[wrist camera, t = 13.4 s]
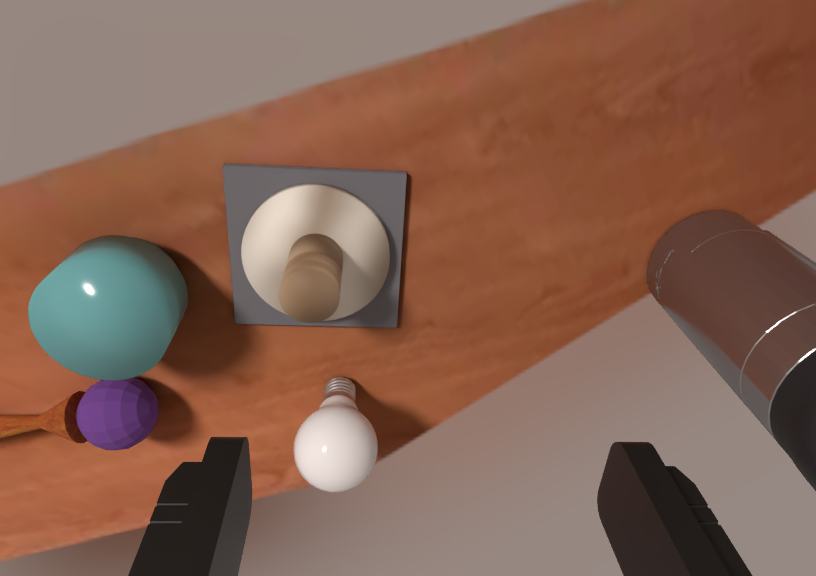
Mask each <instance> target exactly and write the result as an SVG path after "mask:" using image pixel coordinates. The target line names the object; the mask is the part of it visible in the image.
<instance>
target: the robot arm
mask: <svg viewBox="0 0 816 576" xmlns="http://www.w3.org/2000/svg"><path fill="white" fill-rule="evenodd" d="M647 283H648V286H649V289H650V292H651V293H652V295H653V296H654V298H655V299H656V300H657V302H658V303H659V304H660V305H661V306H662V308H663V309H664V310H665V311H666V312H667V313H668V314H669V316H670V317H671V318H672V319H673V320H674V322H675V323H676V324H677V325H678V327H679V328H680V329H681V330H682V331H683V332H684V333H685V335H686V336H687V337H688V338H689V339H690V341H691V342H692V343H693V344H694V345H695V346H696V348H697V349H698V350H699V351H700V352H701V353H702V355H703V356H704V357H705V358H706V359H707V361H708V362H709V363H710V364H711V365H712V366H713V368H714V369H715V370H716V371H717V372H718V373H719V375H720V376H721V377H722V378H723V379H724V380H725V381H726V383H727V384H728V385H729V386H730V387H731V388H732V390H733V391H734V392H735V393H736V394H737V395H738V397H739V398H740V399H741V400H742V401H743V403H744V404H745V405H746V406H747V407H748V408H749V409H750V410H751V411H752V413H753V414H754V415H755V416H756V417H757V419H758V420H759V421H760V422H761V423H762V425H763V426H764V427H765V428H766V429H767V430H768V432H769V433H770V434H771V435H772V436H773V437H774V439H775V440H776V441H777V442H778V444H779V445H780V446H781V447H782V448H783V449H784V450H785V452H786V453H787V454H788V455H789V456H790V458H791V459H792V460H793V462H794V463H795V465H796V467H797V468H798V469H799V471H800V472H801V473H802V474H803V476H804V477H805V478H806V480H807V481H808V482H809V483H810V485H811V486H812V487H813V488H814V489H815V491H816V263H815V262H814V261H812V260H811V259H809V258H808V257H806V256H805V255H804V254H802V253H800V252H799V251H797V250H796V249H795V248H793V247H792V246H790V245H789V244H787V243H786V242H784V241H783V240H781V239H780V238H778V237H777V236H775V235H774V234H772V233H771V232H769V231H767V230H762V229H760V228H759V227H757V226H756V225H754V224H753V223H751V222H750V221H748V220H747V219H745V218H744V217H742V216H740V215H738V214H736V213H732V212H729V211H708V212H702V213H699V214H696V215H694V216H691V217H689V218H687V219H685V220H683V221H681V222H679V223H678V224H677V225H675V226H674V227H673V228H672V229H670V230H669V231H668V232H667V233H666V234H665V235H664V236H663V237H662V238H661V240H660V241H659V242H658V244H657V245H656V247H655V249H654V250H653V252H652V254H651V257H650V260H649V262H648V268H647ZM597 503H598V512H599V516H600V519H601V522H602V525H603V527H604V529H605V532H606V534H607V537H608V539H609V541H610V544H611V546H612V548H613V551H614V553H615V556H616V558H617V561H618V563H619V565H620V568H621V570H622V573H623V575H624V576H752V575H751V573H750V571H749V570H748V568H747V567H746V565H745V563H744V562H743V560H742V559H741V557H740V555H739V554H738V552H737V551H736V549H735V547H734V546H733V544H732V543H731V541H730V539H729V538H728V536H727V535H726V533H725V531H724V530H723V528H722V527H721V525H718V520H717V519H716V517H715V515H714V514H713V512H712V511H711V509H710V508H708V507H707V505H708V504H707V503H706V501H705V500H704V498H703V497H702V495H701V493H700V491H699V490H698V488H697V487H696V485H695V484H694V483H693V482H692V481H691V480H690V479H689V478H687V477H686V476H685V475H684V474H683V473H682V472H681V471H679V470H678V469H677V468H676V467H674V466H665V465H664V463H663V461H662V460H661V458H660V456H659V455H658V453H657V451H656V449H655V448H654V446H653V445H652V444H650V443H648V442H615V443H613V444H612V446H611V449H610V452H609V455H608V459H607V462H606V466H605V469H604V473H603V476H602V479H601V483H600V486H599V490H598V497H597ZM251 505H252V481H251V468H250V455H249V443H248V438H247V437H211V438H210V440H209V443H208V445H207V448H206V451H205V454H204V457H203V460H202V462H183V463H182V464H181V465H180V466H179V467H178V468H177V469H176V470H175V471H174V472H173V473H172V474H171V475H170V476H169V478H168V479H167V480H166V481H165V483H164V486H163V488H162V491H161V494H160V496H159V499H158V501H157V507H155V509H154V511H153V514H152V516H151V519H150V524H149V525H148V527H147V529H146V532H145V534H144V537H143V539H142V542H141V544H140V547H139V550H138V552H137V555H136V557H135V560H134V562H133V565H132V567H131V570H130V572H129V575H128V576H238V571H239V567H240V562H241V558H242V553H243V548H244V544H245V539H246V534H247V530H248V525H249V520H250V514H251Z"/></svg>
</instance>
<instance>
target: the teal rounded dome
mask: <svg viewBox="0 0 816 576" xmlns="http://www.w3.org/2000/svg"><path fill="white" fill-rule="evenodd" d="M187 305H188V291H187V286H186V283H185V280H184V278H183V276H182V274H181V272H180V270H179V269H178V268H177V266H176V264H175V262H174V261H173V259H172V258H171V257H170V256H169V255H168V254H167V253H166V252H165V251H164V250H162V249H161V248H160V247H158V246H156V245H155V244H153V243H150V242H148V241H145V240H142V239H138V238H132V237H127V236H118V235H111V236H101V237H97V238H94V239H91V240H88V241H86V242H84V243H83V244H81V245H79V246H78V247H77V248H76V249H75V250H74V251H73V252H72V253H70V254H69V255H68V256H67V257H66V258H65V259H64V260H63V261H62V262H61V263H60V264H59V265H58V266H57V267H56V268H55V269H54V270H53V271H52V272H51V273H50V274H49V275H48V276H47V277H46V278H45V279H44V280H43V281H42V282H41V283H40V284H39V285H38V286H37V288H36V289H35V291H34V292H33V294H32V296H31V299H30V302H29V309H28V313H29V322H30V326H31V329H32V332H33V334H34V336H35V338H36V340H37V341H38V343H39V344H40V346H41V347H42V348H43V349H44V350H45V351H46V353H47V354H48V355H50V356H51V357H52V358H53V359H54V360H55V361H57V362H58V363H59V364H61V365H62V366H64V367H66V368H67V369H69V370H71V371H73V372H75V373H78V374H81V375H83V376H86V377H90V378H94V379H100V380H124V379H129V378H133V377H136V376H139V375H141V374H143V373H145V372H147V371H149V370H150V369H151V368H153V367H154V366H155V365H156V364H157V363H158V362H159V361H160V360H161V358H162V357H163V355H164V353H165V351H166V350H167V348H168V346H169V344H170V342H171V340H172V338H173V336H174V334H175V332H176V330H177V329H178V327H179V325H180V323H181V321H182V319H183V317H184V315H185V313H186V309H187Z"/></svg>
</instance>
